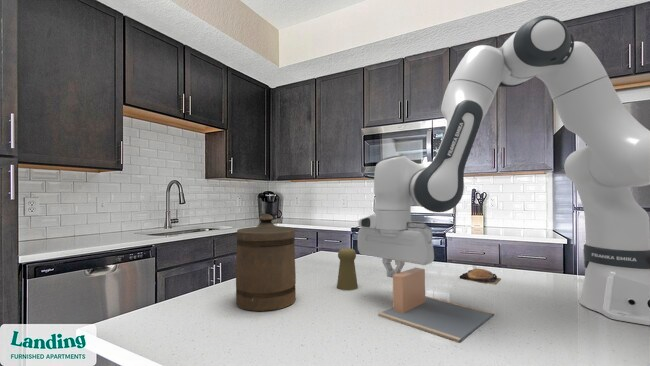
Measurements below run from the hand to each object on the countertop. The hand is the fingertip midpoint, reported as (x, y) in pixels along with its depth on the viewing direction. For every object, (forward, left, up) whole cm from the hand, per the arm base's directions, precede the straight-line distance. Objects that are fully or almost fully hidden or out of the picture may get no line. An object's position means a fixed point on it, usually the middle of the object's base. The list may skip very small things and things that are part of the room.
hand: (393, 277), depth 79 cm
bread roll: (-7, -37, -7) cm, 38 cm away
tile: (-4, 0, -6) cm, 7 cm away
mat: (-11, 0, -6) cm, 13 cm away
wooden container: (+24, +21, -7) cm, 33 cm away
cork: (+17, -2, -6) cm, 18 cm away
